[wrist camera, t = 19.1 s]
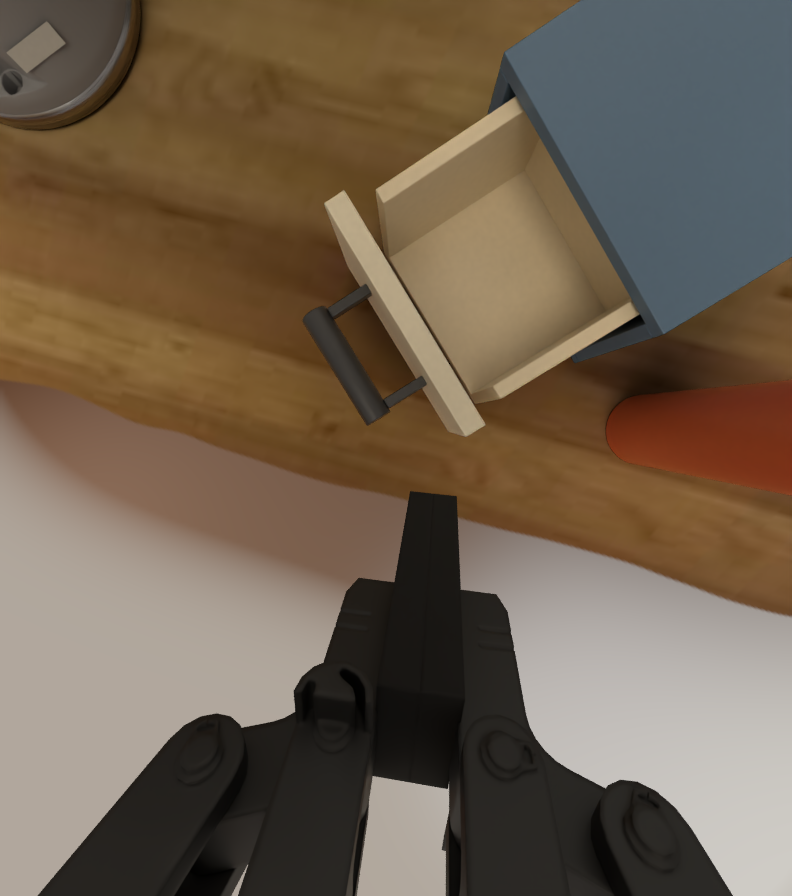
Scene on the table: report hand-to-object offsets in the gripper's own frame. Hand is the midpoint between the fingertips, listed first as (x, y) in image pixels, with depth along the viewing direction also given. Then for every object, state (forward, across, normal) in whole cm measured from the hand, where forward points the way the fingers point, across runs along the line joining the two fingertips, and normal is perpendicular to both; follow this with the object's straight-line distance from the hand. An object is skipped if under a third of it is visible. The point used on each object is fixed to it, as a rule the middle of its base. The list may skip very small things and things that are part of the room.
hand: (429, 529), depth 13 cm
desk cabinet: (+22, -11, -12) cm, 27 cm away
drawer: (+18, -1, -5) cm, 18 cm away
